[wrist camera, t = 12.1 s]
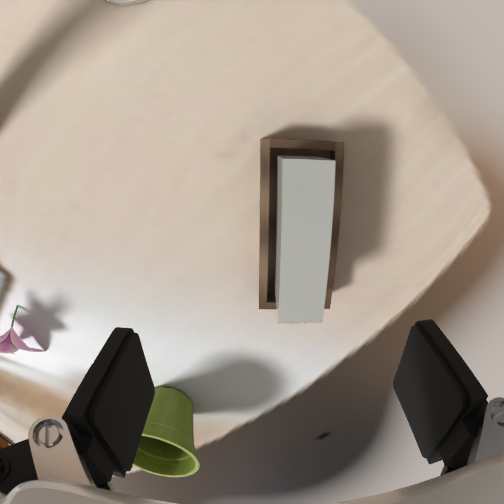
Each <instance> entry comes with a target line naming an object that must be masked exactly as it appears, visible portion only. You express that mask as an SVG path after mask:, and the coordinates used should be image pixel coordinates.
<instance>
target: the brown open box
mask: <svg viewBox="0 0 504 504" xmlns="http://www.w3.org/2000/svg"><path fill="white" fill-rule="evenodd" d="M277 155H299V156H319V157H323V158H327V159H331V160H334V161H336V162H335V188H334V206H333V222H332V235H331V248H330V259H329V269H328V279H327V288H326V297H325V305H324V309H330V304H331V297H332V289H333V281H334V273H335V264H336V255H337V245H338V235H339V224H340V211H341V197H342V180H343V159H344V143H341V142H328V141H313V140H292V139H261V149H260V260H259V309H277V307H276V297H275V250H276V190H277Z"/></svg>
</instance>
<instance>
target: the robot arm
mask: <svg viewBox="0 0 504 504" xmlns="http://www.w3.org/2000/svg"><path fill="white" fill-rule="evenodd" d="M107 1H108V2H111V3H113V4H119V5H132V4H137V3H142V2H145V1H148V0H107ZM393 387H394V390H395V392H396V394H397V397H398V399H399V401H400V403H401V406H402V408H403V410H404V412H405V415H406V417H407V420H408V422H409V425H410V427H411V429H412V432H413V434H414V437H415V439H416V442H417V444H418V447H419V449H420V452H421V454H422V456H423V457H424V458H427V460H428V463H429V464H432V463H435V462H438V461H441V460H443V462H444V467H443V469H442V472H441V475H440V476H439V477H436V478H433V479H430V480H427V481H424V482H421V483H418V484H415V485H411V486H408V487H405V488H401V489H398V490H394V491H390V492H386V493H382V494H378V495H373V496H369V497H364V498H360V499H354V500H348V501H342V502H337V503H329V504H504V398H501V397H499V398H494V399H492V400H491V401H490V402H489V403H488V402H487V400H486V399H487V397H488V395H487V393H486V392H485V390H484V389H483V387H482V386H481V384H480V383H479V381H478V380H477V379H476V377H475V376H474V374H473V373H472V371H471V370H470V369H469V367H468V366H467V364H466V363H465V362H464V360H463V359H462V357H461V356H460V355H459V353H458V352H457V351H456V349H455V348H454V347H453V345H452V344H451V343H450V341H449V340H448V339H447V337H446V336H445V335H444V334H443V332H442V331H441V330H440V328H439V327H438V326H437V325H436V324H435V322H434V321H433V320H431V319H430V320H422V321H417V322H416V323H415V325H414V326H412V327H411V330H410V333H409V336H408V340H407V343H406V346H405V349H404V352H403V355H402V358H401V361H400V364H399V366H398V370H397V372H396V375H395V377H394V381H393ZM154 395H155V388H154V384H153V381H152V378H151V375H150V372H149V369H148V366H147V362H146V359H145V356H144V352H143V349H142V345H141V342H140V338H139V335H138V334H137V333H134V331H133V329H131V328H120V327H116V328H115V329H114V330H113V332H112V333H111V335H110V337H109V338H108V340H107V341H106V343H105V345H104V346H103V348H102V350H101V351H100V353H99V354H98V356H97V358H96V359H95V361H94V363H93V364H92V365H91V367H90V368H89V370H88V372H87V374H86V375H85V377H84V379H83V380H82V382H81V384H80V386H79V387H78V389H77V391H76V393H75V394H74V396H73V398H72V400H71V402H70V403H69V405H68V407H67V409H66V411H65V413H64V414H63V416H62V418H60V417H57V416H52V415H48V416H43V417H41V418H39V419H37V420H36V421H35V422H34V423H33V424H32V426H31V427H30V430H29V433H28V438H29V439H27V440H24V441H21V442H18V443H16V444H13V445H10V446H7V447H5V448H2V449H0V504H176V503H169V502H163V501H157V500H151V499H146V498H140V497H135V496H130V495H126V494H122V493H118V492H115V491H114V489H113V487H112V485H111V483H110V481H111V478H112V475H115V476H119V477H123V478H124V477H125V474H126V471H130V470H131V468H132V466H133V462H134V459H135V456H136V452H137V449H138V446H139V442H140V439H141V436H142V433H143V430H144V426H145V423H146V420H147V417H148V414H149V411H150V408H151V405H152V402H153V399H154Z"/></svg>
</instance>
